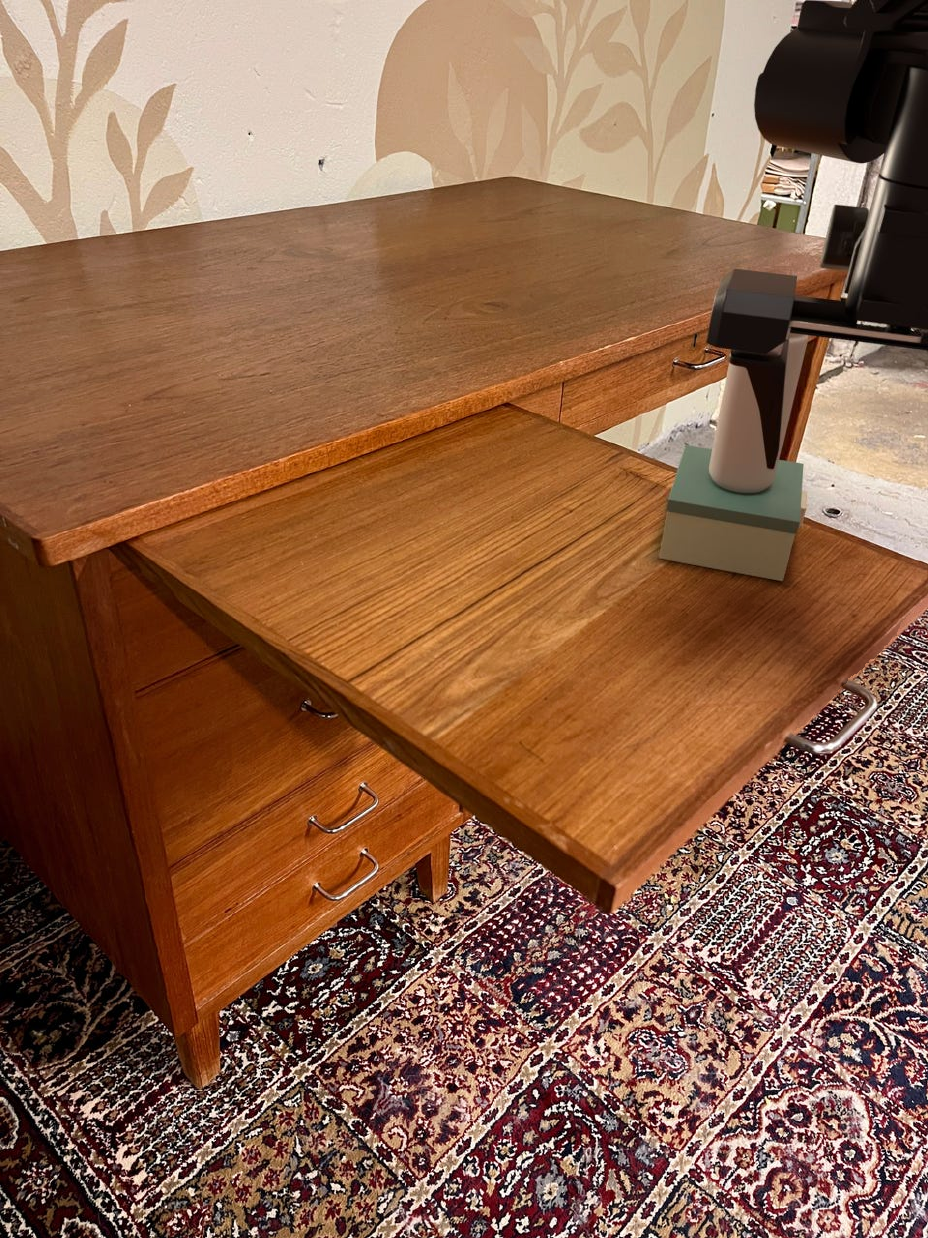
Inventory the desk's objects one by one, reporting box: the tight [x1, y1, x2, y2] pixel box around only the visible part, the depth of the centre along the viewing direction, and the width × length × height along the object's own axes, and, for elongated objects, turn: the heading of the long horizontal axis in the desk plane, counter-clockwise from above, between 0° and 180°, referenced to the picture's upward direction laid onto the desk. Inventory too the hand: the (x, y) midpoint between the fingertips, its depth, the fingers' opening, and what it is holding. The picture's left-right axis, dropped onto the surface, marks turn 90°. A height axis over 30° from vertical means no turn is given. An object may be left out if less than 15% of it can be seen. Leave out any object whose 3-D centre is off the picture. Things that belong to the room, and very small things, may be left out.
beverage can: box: [709, 333, 810, 493], centre depth 69 cm, size 5×5×12 cm
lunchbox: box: [658, 444, 808, 582], centre depth 74 cm, size 10×10×5 cm
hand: (854, 479), depth 54 cm, fingers open, 9 cm apart
